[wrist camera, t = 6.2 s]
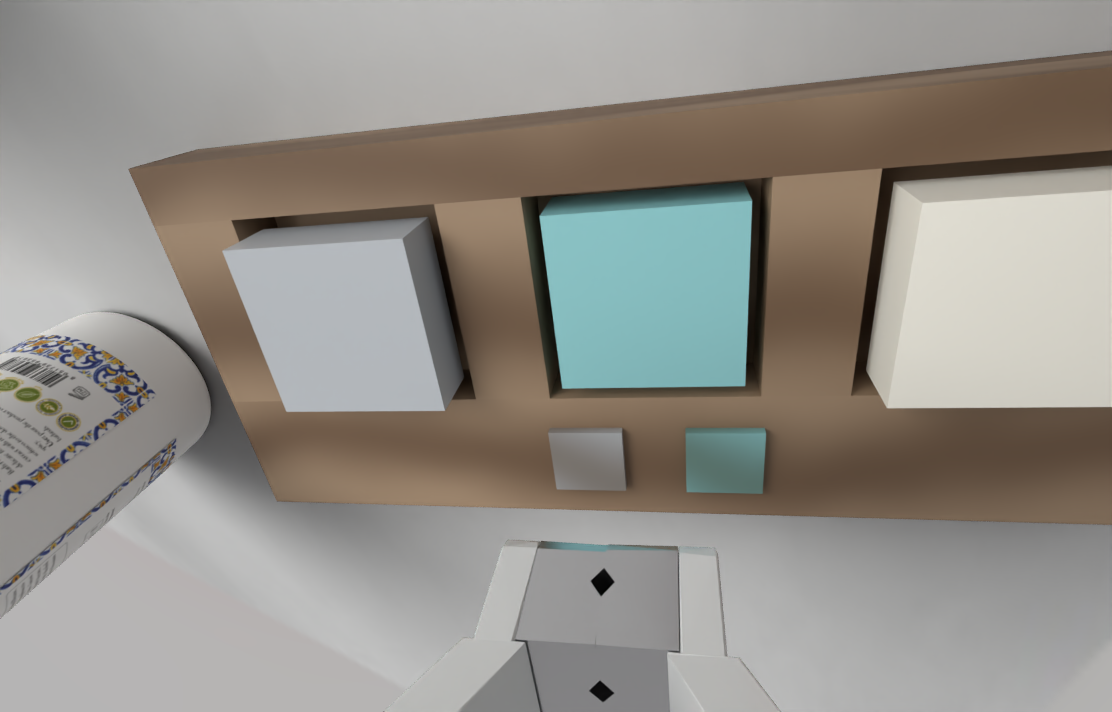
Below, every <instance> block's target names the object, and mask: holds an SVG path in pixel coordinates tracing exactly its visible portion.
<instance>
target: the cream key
mask: <svg viewBox="0 0 1112 712" xmlns="http://www.w3.org/2000/svg"><path fill="white" fill-rule="evenodd" d="M866 371H867V373H868V375H869V377H870V378H871V380H872V382H873V384H874V386H875V387H876V389H877V391H878V393H879V395H880V396H881V398H882V400H883V402H884V404H885V406H886V407H887V408H1032V407H1112V165H1111V166H1098V167H1085V168H1072V169H1058V170H1045V171H1032V172H1018V173H1005V174H992V175H978V176H965V177H952V178H939V179H925V180H912V181H899V182H894V184H893V191H892V197H891V204H890V211H889V218H888V224H887V231H886V238H885V245H884V252H883V258H882V265H881V272H880V279H879V285H878V292H877V299H876V306H875V312H874V319H873V326H872V333H871V339H870V346H869V353H868V360H867V367H866Z"/></svg>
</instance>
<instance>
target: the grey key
mask: <svg viewBox="0 0 1112 712" xmlns="http://www.w3.org/2000/svg"><path fill="white" fill-rule="evenodd" d="M222 252H223V254H224V257H225V259H226V262H227V264H228V267H229V269H230V272H231V274H232V277H233V279H234V282H235V284H236V287H237V289H238V292H239V294H240V297H241V299H242V302H243V304H244V307H245V309H246V312H247V314H248V317H249V319H250V322H251V324H252V327H253V329H254V332H255V334H256V337H257V339H258V342H259V344H260V347H261V349H262V352H263V354H264V357H265V359H266V362H267V364H268V367H269V369H270V372H271V374H272V377H273V379H274V382H275V384H276V387H277V389H278V392H279V394H280V397H281V399H282V402H283V404H284V407H285V409H286V412H335V411H445V410H446V408H447V407H448V405H449V403H450V401H451V400H452V398H453V396H454V394H455V393H456V391H457V389H458V387H459V386H460V384H461V382H462V380H463V379H464V374H463V370H462V365H461V361H460V356H459V352H458V347H457V343H456V338H455V334H454V329H453V325H452V320H451V316H450V311H449V307H448V302H447V298H446V293H445V289H444V284H443V280H442V275H441V271H440V266H439V262H438V257H437V253H436V248H435V244H434V239H433V235H432V230H431V226H430V222H429V217H420V218H407V219H393V220H380V221H367V222H353V223H340V224H327V225H314V226H300V227H287V228H274V229H263V230H261V231H259V232H257V233H255V234H253V235H251V236H249V237H248V238H246V239H244V240H242V241H240V242H238V243H236V244H234V245H232V246H230V247H228V248H227V249H225V250H223V251H222Z"/></svg>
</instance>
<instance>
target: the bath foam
mask: <svg viewBox="0 0 1112 712" xmlns="http://www.w3.org/2000/svg"><path fill="white" fill-rule="evenodd" d="M210 415H211V402H210V396H209V392H208V389H207V386H206V384H205V381H204V379H203V377H202V375H201V373H200V372H199V370H198V368H197V367H196V365H195V364H194V363H193V361H192V360H191V359H190V357H189V356H188V355H187V354H186V353H185V352H184V351H183V350H182V349H181V348H180V347H179V346H178V345H177V344H176V343H175V342H174V341H173V340H171V339H170V338H169V337H168V336H166V335H165V334H163V333H162V332H160V331H159V330H157V329H156V328H154V327H152V326H150V325H149V324H147V323H145V322H142V321H140V320H138V319H135V318H132V317H130V316H126V315H122V314H118V313H112V312H91V313H85V314H82V315H78V316H76V317H73V318H71V319H69V320H67V321H65V322H63V323H61V324H59V325H57V326H55V327H53V328H51V329H49V330H47V331H45V332H43V333H41V334H39V335H37V336H35V337H33V338H30V339H28V340H26V341H24V342H22V343H20V344H18V345H16V346H14V347H12V348H10V349H8V350H6V351H4V352H2V353H0V619H1V618H2V617H3V616H4V615H5V614H6V613H7V612H8V611H10V610H11V609H12V608H13V607H14V606H15V605H16V604H17V603H18V602H20V601H21V600H22V599H23V598H24V597H25V596H26V595H27V594H29V592H31V591H32V590H33V589H34V588H35V587H36V586H37V585H39V583H41V582H42V581H43V580H44V579H45V578H46V577H47V576H49V574H51V573H52V572H53V571H54V570H55V569H56V568H57V567H58V566H60V565H61V564H62V563H63V562H64V561H65V560H66V559H67V558H69V557H70V556H71V555H72V554H73V553H74V552H75V551H76V550H77V549H78V548H80V547H81V546H82V545H83V544H84V543H85V542H86V541H87V540H89V539H90V538H91V537H92V536H93V535H94V534H95V533H96V532H97V531H99V530H100V529H101V528H102V527H103V526H104V525H105V524H106V523H108V522H109V521H110V520H111V519H112V518H113V517H114V516H115V515H116V514H118V513H119V512H120V511H121V510H122V509H123V508H124V507H125V506H126V505H128V504H129V503H130V502H131V501H132V500H133V499H134V498H135V497H136V496H138V495H139V494H140V493H141V492H142V491H143V490H144V489H145V488H146V487H148V486H149V485H150V484H151V483H152V482H153V481H154V480H155V479H156V478H158V477H159V476H160V475H161V474H162V473H163V472H164V471H165V470H166V469H167V468H168V467H169V466H170V465H171V464H173V463H174V462H175V461H176V460H177V459H178V458H179V457H180V456H181V455H183V454H184V453H185V452H186V451H187V450H188V449H189V448H190V447H191V446H192V445H194V444H195V443H196V442H197V441H198V440H199V439H200V437H201V436H202V435H203V434H204V432H205V430H206V428H207V426H208V424H209V420H210Z"/></svg>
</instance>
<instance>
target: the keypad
mask: <svg viewBox="0 0 1112 712" xmlns="http://www.w3.org/2000/svg"><path fill="white" fill-rule="evenodd" d="M1111 165H1112V51H1103V52H1093V53H1084V54H1075V55H1066V56H1057V57H1047V58H1038V59H1029V60H1020V61H1010V62H1001V63H992V64H983V65H973V66H964V67H955V68H946V69H936V70H927V71H918V72H909V73H899V74H890V75H881V76H872V77H863V78H853V79H844V80H835V81H826V82H816V83H807V84H798V85H789V86H779V87H770V88H761V89H752V90H742V91H733V92H724V93H715V94H705V95H696V96H687V97H678V98H669V99H659V100H650V101H641V102H632V103H622V104H613V105H604V106H595V107H585V108H576V109H567V110H558V111H548V112H539V113H530V114H521V115H511V116H502V117H493V118H484V119H475V120H465V121H456V122H447V123H438V124H428V125H419V126H410V127H401V128H391V129H382V130H373V131H364V132H354V133H345V134H336V135H327V136H317V137H308V138H299V139H290V140H281V141H271V142H262V143H253V144H244V145H234V146H225V147H216V148H207V149H197V150H194V151H190V152H186V153H183V154H179V155H176V156H172V157H169V158H165V159H162V160H158V161H154V162H151V163H147V164H144V165H140V166H137V167H133V168H130V169H129V171H130V174H131V176H132V178H133V180H134V183H135V185H136V187H137V189H138V192H139V194H140V196H141V198H142V201H143V203H144V205H145V207H146V209H147V212H148V214H149V216H150V218H151V221H152V223H153V225H154V227H155V230H156V232H157V234H158V236H159V239H160V241H161V243H162V245H163V248H164V250H165V252H166V254H167V256H168V259H169V261H170V263H171V265H172V268H173V270H174V272H175V274H176V277H177V279H178V281H179V283H180V286H181V288H182V290H183V292H184V294H185V297H186V299H187V301H188V303H189V306H190V308H191V310H192V312H193V315H194V317H195V319H196V321H197V324H198V326H199V328H200V330H201V333H202V335H203V337H204V339H205V341H206V344H207V346H208V348H209V350H210V353H211V355H212V357H213V359H214V362H215V364H216V366H217V368H218V371H219V373H220V375H221V377H222V380H223V382H224V384H225V386H226V388H227V391H228V393H229V395H230V397H231V400H232V402H233V404H234V406H235V409H236V411H237V413H238V415H239V418H240V420H241V422H242V424H243V426H244V429H245V431H246V433H247V435H248V438H249V440H250V442H251V444H252V447H253V449H254V451H255V453H256V456H257V458H258V460H259V462H260V465H261V467H262V469H263V471H264V473H265V476H266V478H267V480H268V482H269V485H270V487H271V489H272V491H273V494H274V496H275V498H276V500H277V501H284V502H320V503H355V504H391V505H426V506H462V507H498V508H533V509H569V510H604V511H640V512H675V513H711V514H747V515H782V516H818V517H853V518H889V519H924V520H960V521H996V522H1031V523H1067V524H1102V525H1112V407H1032V408H887V407H886V406H885V404H884V402H883V400H882V398H881V396H880V395H879V393H878V391H877V389H876V387H875V386H874V384H873V382H872V380H871V378H870V377H869V375H868V373H867V371H866V367H867V360H868V353H869V346H870V339H871V333H872V326H873V319H874V312H875V306H876V299H877V292H878V285H879V279H880V272H881V265H882V258H883V252H884V245H885V238H886V231H887V224H888V218H889V211H890V204H891V197H892V191H893V184H894V182H899V181H912V180H925V179H939V178H952V177H965V176H978V175H992V174H1005V173H1018V172H1032V171H1045V170H1058V169H1072V168H1085V167H1098V166H1111ZM737 182H744V184H745V186H746V188H747V190H748V193H749V195H750V197H751V199H752V218H751V245H750V272H749V298H748V325H747V352H746V379H745V386H724V387H647V388H571V389H562V381H561V374H560V366H559V359H558V351H557V344H556V336H555V329H554V321H553V314H552V306H551V299H550V291H549V284H548V276H547V269H546V261H545V254H544V246H543V239H542V231H541V224H540V215H541V213H542V212H543V210H544V209H545V207H546V206H547V204H548V202H549V201H550V199H551V198H552V197H559V196H572V195H585V194H597V193H610V192H623V191H635V190H648V189H661V188H674V187H686V186H699V185H712V184H724V183H737ZM420 217H429V222H430V226H431V230H432V235H433V239H434V244H435V248H436V253H437V257H438V262H439V266H440V271H441V275H442V280H443V284H444V289H445V293H446V298H447V302H448V307H449V311H450V316H451V320H452V325H453V329H454V334H455V338H456V343H457V347H458V352H459V356H460V361H461V365H462V370H463V374H464V379H463V380H462V382H461V384H460V386H459V387H458V389H457V391H456V393H455V394H454V396H453V398H452V400H451V401H450V403H449V405H448V407H447V408H446V410H445V411H335V412H286V409H285V407H284V404H283V402H282V399H281V397H280V394H279V392H278V389H277V387H276V384H275V382H274V379H273V377H272V374H271V372H270V369H269V367H268V364H267V362H266V359H265V357H264V354H263V352H262V349H261V347H260V344H259V342H258V339H257V337H256V334H255V332H254V329H253V327H252V324H251V322H250V319H249V317H248V314H247V312H246V309H245V307H244V304H243V302H242V299H241V297H240V294H239V292H238V289H237V287H236V284H235V282H234V279H233V277H232V274H231V272H230V269H229V267H228V264H227V262H226V259H225V257H224V254H223V252H222V251H223V250H225V249H227V248H228V247H230V246H232V245H234V244H236V243H238V242H240V241H242V240H244V239H246V238H248V237H249V236H251V235H253V234H255V233H257V232H259V231H261V230H263V229H274V228H287V227H300V226H314V225H327V224H340V223H353V222H367V221H380V220H393V219H407V218H420Z"/></svg>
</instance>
